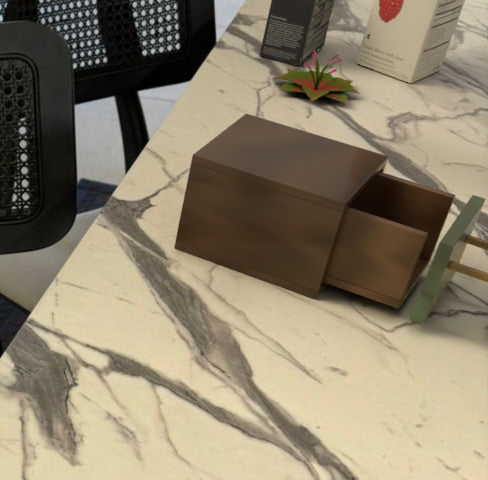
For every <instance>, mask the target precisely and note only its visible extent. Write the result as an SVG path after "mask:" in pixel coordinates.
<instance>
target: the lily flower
mask: <svg viewBox="0 0 488 480" xmlns="http://www.w3.org/2000/svg"><path fill="white" fill-rule="evenodd" d="M313 52H314V53H315V54H312V58H313V59H314V61H312V62H311V64H312V66H313V67H314V70H313V69H312V67H311V66H310V65H309V63H308V62H307V61H306V62H304V65H306V67H307V68H308V70H309V71H304V70H299V69H291V68H286V70H287V72H286V73H282V74H280V75H279V76H275V77H273V79H274V80H275V79H276V80H285V81H289V82H286V83H283V84H281V87H280V88H279V89H278V90H277V91H280V92H296V93H297V92H298V93H303V94H306V95H307V97H308V98H309V99H310V102H311V103H313V102H314V101H315V100H318V99H319V98H321V97H324V98H329V99H333V100H336V101H338V102H341V103H344V104H347V105H349V103H348V102H349V101H348V96H347V94H346V93H343V92H344V91H346V92H351V93H354V94H358V95H361V96H362V95H363V94H362V93H361V92H359V91H358V90H357V89H356V88H355V87H354V86H353V85H352V83H354V80H349V79H347V78H345V79H344V78H342V77H335V76H333V75H332V74H333V73H335V72H337V69H333V70H332V68H334V64H336V63H340V62H342V61H343V59H342V58H341V59H337V60H335V61H334V59H336V58H337V57H338V56H339V54H336V55H334V57H333V59H330V60H329V61H328V62H327V63H326V64H325V65H324V66H323V67H322V66H321V68H320V62H319V59H318V55H317V52H315V51H313ZM333 61H334V62H333ZM328 70H331V71H328Z"/></svg>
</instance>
